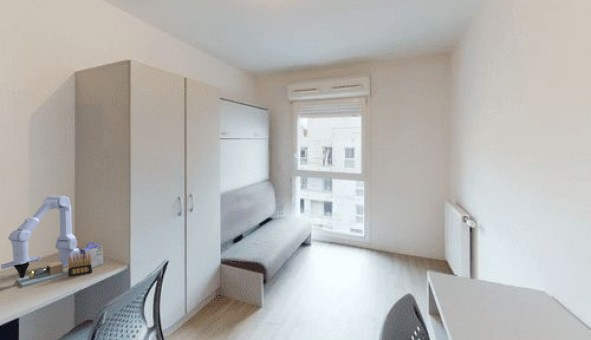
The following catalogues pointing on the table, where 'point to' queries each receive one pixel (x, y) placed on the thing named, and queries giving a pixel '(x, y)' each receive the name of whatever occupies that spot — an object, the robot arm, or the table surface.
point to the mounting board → (44, 275)
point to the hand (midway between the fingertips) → (22, 277)
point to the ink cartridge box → (94, 254)
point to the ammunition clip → (80, 265)
